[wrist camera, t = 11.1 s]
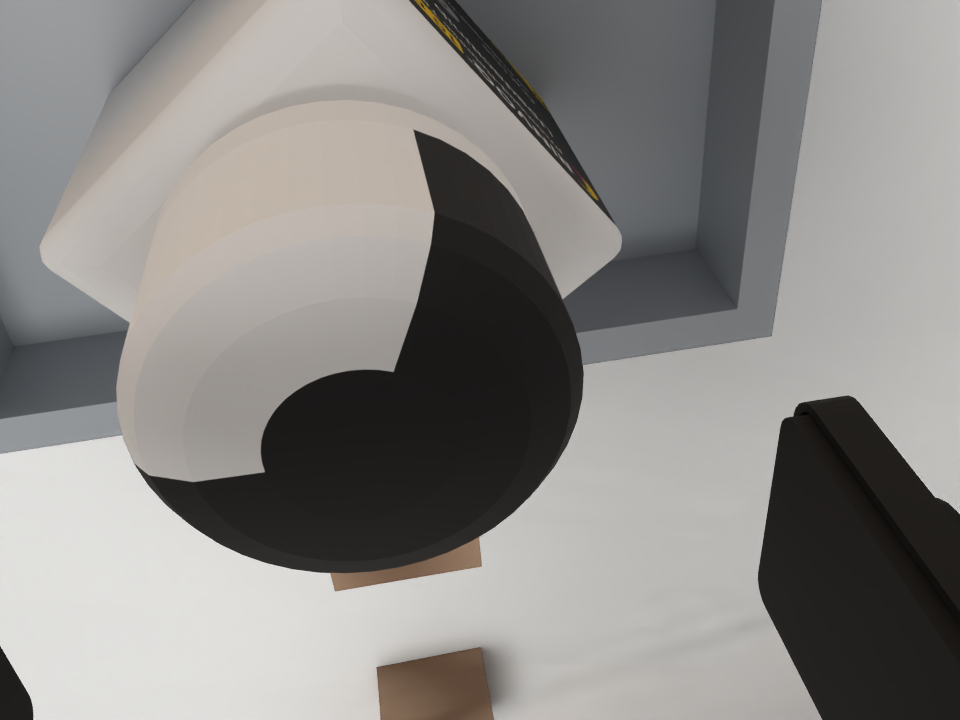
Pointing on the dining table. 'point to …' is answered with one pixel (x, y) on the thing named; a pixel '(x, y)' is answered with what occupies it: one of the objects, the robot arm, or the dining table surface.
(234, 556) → the dining table surface
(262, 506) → the medicine bottle
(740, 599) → the dining table surface
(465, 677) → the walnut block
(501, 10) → the tray
